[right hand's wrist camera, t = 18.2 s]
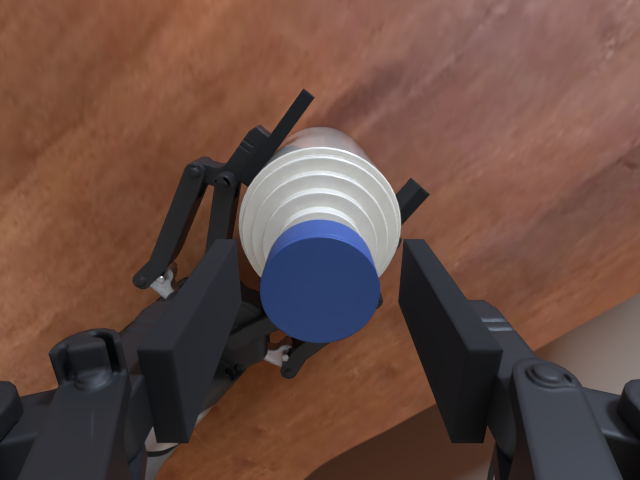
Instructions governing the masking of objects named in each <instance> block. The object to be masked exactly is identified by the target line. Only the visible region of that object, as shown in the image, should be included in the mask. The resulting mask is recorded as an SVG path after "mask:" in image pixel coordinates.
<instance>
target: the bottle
mask: <svg viewBox="0 0 640 480" xmlns="http://www.w3.org/2000/svg"><path fill="white" fill-rule="evenodd" d="M317 219H320V220H331V221H335V222H339V223H341V224H344V225H346V226H348V227H349V228H351V229H352V230H354V231H355V232H356V233H358V234H359V235H360V236H361V237H362V239H363V240H364V241H365V243H366V244H367V246H368V248H369V250H370V253H371V255H372V258H373V261H374V265H375V268H376V271H377V274H378V277H380V276H381V275H382V274H383V272H384V271H385V269H386V268H387V266H388V265H389V263H390V262H391V260H392V258H393V256H394V254H395V252H396V249H397V246H398V243H399V238H400V233H401V214H400V209H399V204H398V201H397V199H396V196H395V193H394V191H393V190H392V188H391V186H390V184H389V183H388V181H387V180H386V179H385V177H384V176H383V175H382V173H381V172H380V171H379V170H378V168H377V167H376V166H375V164H374V163H373V162H372V161H371V159H370V158H369V157H368V156H367V154H366V153H365V152H364V150H363V149H362V148H361V147H360V145H359V144H358V143H357V142H356V141H355V140H354V139H352V138H351V137H350V136H348V135H347V134H345V133H343V132H341V131H339V130H336V129H332V128H327V127H313V128H307V129H304V130H301V131H299V132H297V133H295V134H293V135H292V136H290V137H289V138H287V139H286V140H285V141H284V142H283V143H282V144H281V145H280V146H279V148H278V149H277V150H276V151H275V153H274V154H273V155H272V157H271V158H270V159H269V160H268V162H267V163H266V164H265V165H264V167H263V168H262V169H261V170H260V172H259V173H258V174H257V175H256V177H255V178H254V180H253V181H252V182H251V184H250V185H249V187H248V189H247V191H246V193H245V195H244V198H243V201H242V204H241V208H240V213H239V234H240V239H241V244H242V247H243V249H244V252H245V255H246V256H247V258H248V260H249V262H250V264H251V265H252V267H253V268H254V270H255V271H256V272H257V274H258V275H259V276H260V277H261V276H262V273H263V270H264V267H265V264H266V260H267V257H268V254H269V252H270V249H271V247H272V245H273V244H274V242H275V241H276V240H277V238H278V237H279V236H280V235H281V234H282V233H283V232H284V231H286V230H287V229H289V228H290V227H292V226H294V225H296V224H299V223H301V222H305V221H309V220H317Z"/></svg>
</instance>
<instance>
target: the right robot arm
mask: <svg viewBox="0 0 640 480" xmlns="http://www.w3.org/2000/svg"><path fill="white" fill-rule="evenodd" d="M241 302H242V300H241V289H240V278H239V266H238V255H237V243H236V239H216V240H215V242H214V243H213V244H212V246H211V247H210V249H209V250H208V251H207V253H206V254H205V255H204V257H203V258H202V260H201V261H200V262H199V264H198V265H197V267H196V268H195V269H194V271H193V272H192V274H191V275H190V276H189V278H188V279H187V280H186V282H185V283H184V285H183V286H182V287H181V289H180V290H179V292H178V293H177V294H176V296H175V297H174V299H173V300H172V301H156V302H155V303H153V304H152V305H150V306H149V307H147V308H145V309H144V310H142V312H141V313H140V314H139V315H138V316H137V318H136V319H135V320H134V323H132V324H131V325H130V326H129V327H128V329H127V331H126V332H124V333H123V335H122V336H121V337H120V334H119V333H117V332H116V331H115V330H111V329H106V328H100V329H90V330H87V331H83V332H79V333H76V334H74V335H72V336H69V337H67V338H65V339H64V340H62V341H61V342H59V343H58V344H56V345H55V346H54V347H53V348H52V349H51V351H50V352H49V357H50V360H51V363H52V366H53V369H54V372H55V375H56V378H57V381H58V385H59V386H58V388H57V389H54V390H50V391H45V392H40V393H36V394H31V395H26V396H22V397H19V394H18V391H17V389H16V386H15V385H13V384H12V383H11V382H8V381H0V480H145V476H146V466H147V451H146V446H145V441H146V439H147V437H148V435H149V433H150V431H151V429H152V427H153V428H154V433H155V437H156V442H157V443H188V442H189V440H190V437H191V434H192V432H193V429H194V426H195V424H196V421H197V419H198V416H199V413H200V411H201V408H202V405H203V403H204V400H205V397H206V395H207V392H208V389H209V387H210V384H211V382H212V379H213V376H214V374H215V371H216V368H217V366H218V363H219V360H220V358H221V355H222V353H223V350H224V347H225V345H226V342H227V339H228V337H229V334H230V331H231V329H232V326H233V323H234V321H235V318H236V316H237V313H238V310H239V308H240V305H241ZM398 302H399V305H400V308H401V310H402V313H403V316H404V318H405V321H406V323H407V326H408V329H409V331H410V334H411V337H412V339H413V342H414V345H415V347H416V350H417V353H418V355H419V358H420V360H421V363H422V366H423V368H424V371H425V374H426V376H427V379H428V382H429V384H430V387H431V389H432V392H433V395H434V397H435V400H436V403H437V405H438V408H439V411H440V413H441V416H442V419H443V421H444V424H445V426H446V429H447V432H448V434H449V437H450V440H451V442H452V443H483V442H484V437H485V433H486V428H487V425H488V427H489V429H490V431H491V433H492V435H493V437H494V439H495V441H496V442H495V446H494V450H493V454H492V459H491V463H490V467H489V472H488V478H487V480H493V476H494V475H495V480H640V379H637V380H631V381H629V382H628V383H626V384H625V386H624V389H623V391H622V394H621V395H616V394H612V393H607V392H603V391H598V390H593V389H589V388H585V387H582V385H581V384H580V382H579V381H578V379H577V378H576V377H575V376H574V375H573V374H572V373H570V372H569V371H568V370H566V369H565V368H563V367H561V366H559V365H557V364H555V363H553V362H550V361H546V360H543V359H539V358H538V357H537V356H536V355H535V353H534V352H533V351H532V350H531V349H530V347H529V346H528V345H527V344H526V343H525V341H524V340H523V339H522V338H521V337H520V335H519V334H518V333H517V332H516V331H514V328H513V327H512V326H511V325H510V323H509V322H507V321H506V318H505V317H504V316H503V315H502V314H501V312H500V311H499V310H498V309H497V308H495V307H494V306H492V305H490V304H489V303H487V302H486V301H484V300H467V298H466V297H465V296H464V294H463V293H462V292H461V290H460V289H459V287H458V286H457V285H456V283H455V282H454V280H453V279H452V278H451V276H450V275H449V274H448V272H447V271H446V269H445V268H444V267H443V265H442V264H441V262H440V261H439V260H438V258H437V257H436V255H435V254H434V253H433V251H432V250H431V249H430V247H429V246H428V244H427V243H426V242H425V240H424V239H404V243H403V255H402V266H401V278H400V289H399V300H398Z"/></svg>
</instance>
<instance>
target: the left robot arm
mask: <svg viewBox="0 0 640 480" xmlns="http://www.w3.org/2000/svg"><path fill="white" fill-rule="evenodd" d="M314 98H315V97H314V96H312V95H311V94H310V93H309V92H308V91H306V90H305V89H303V90H302V91H301V93H300V94H299V96H298V97H297V98H296V100H295V101H294V103H293V104H292V105H291V107H290V108H289V110H288V111H287V112H286V114H285V115H284V117H283V118H282V119H281V121H280V122H279V124H278V125H277V127H276V128H275V129H274V131H273V132H272V134H271V133H270V132H269V131H267V130H266V129H265V128H264V127H262V126H261V125H259V126H257V127H255V128H253V129H252V130H250V131H249V132H248V133H247V135H246V136H245V138H244V139H243V141H242V142H241V144H240V145H239V147H238V148H237V149H236V151H235V152H234V154H233V155H232V157H231V158H230V160H229V161H228V162H227V163H219V162H216V161H213V160H212V159H210V158H209V157H201V158H199V159H197V160H195V161H193V162H191V163H190V164H188V165H187V166H186V168H185V170H184V172H183V175H182V178H181V180H180V183H179V185H178V188H177V191H176V193H175V196H174V198H173V201H172V204H171V206H170V209H169V211H168V214H167V217H166V219H165V222H164V224H163V227H162V230H161V232H160V235H159V237H158V240H157V243H156V245H155V248H154V250H153V253H152V256H151V258H150V260H149V261H148V262H147V263H146V264H145V265H144V266H143V267H142V268H141V269H140V270H139V271H138V272H137V273H136V274H135V275H134V277H133V283H134V285H135V286H136V287H138V288H139V289H146V288H148V287H149V286H150V287H151V288H152V289H154V290H155V291H156V292H157V293H159V294H160V295H161V296H162V297H164V298H165V299H166V300H165V301H172V300H173V299H174V297H175V296H176V294H177V293H178V292H179V290H180V289H181V287H182V286H183V285H184V284H180V285H178V284H177V282H176V280H175V276H176V274H177V272H178V269H177V264H176V263H175V262H173V261H174V260H175V259H176V257H177V256H178V254H179V253H180V251H181V249H182V247H183V244H184V242H185V239H186V237H187V235H188V232H189V230H190V227H191V225H192V223H193V220H194V218H195V215H196V213H197V210H198V208H199V206H200V203H201V201H202V198H203V196H204V194H205V191H206V189H207V186H208V184H209V185H212V186H215V187H214V194H213V201H212V208H211V216H210V223H209V230H208V237H207V244H206V251H205V254H206V253H207V251H208V250H209V249H210V247H211V246H212V244H213V243H214V242H215V240H216V239H232V237H233V231H234V225H235V219H236V213H237V207H238V201H239V195H240V189H241V183H243V184H245V185H246V186H247V187H249V185H250V184H251V182H252V181H253V180H254V178H255V177H256V175H257V174H258V173H259V172H260V170H261V169H262V168H263V167H264V165H265V164H266V163H267V162H268V160H269V159H270V158H271V157H272V155H273V154H274V153H275V151H276V150H277V148H278V147H279V146H280V144H281V143H282V142H283V140H284V139H285V137H286V136H287V135H288V133H289V132H290V131H291V129H292V128H293V127H294V125H295V124H296V122H297V121H298V120H299V118H300V117H301V116H302V114H303V113H304V111H305V110H306V109H307V107H308V106H309V105H310V103H311V102H312V100H313V99H314ZM429 195H430V194H429V193H427V192H426V191H425V190H424V189H423V188H422V187H421V186H420V185H419V184H417V183H416V182H415V181H414V180H413V179H411V178H410V179H409V181H408V182H407V183H406V184H405V185H404V186H403V187H402V188H401V190H400V191H399V192H398V193H397V194H396V195H395V196H396V199H397V201H398V204H399V209H400V214H401V225H402V224H403V223H404V222H405V221H406V220H407V219H408V218H409V217H410V216H411V214H412V213H413V212H414V211H415V210H416V209H417V208H418V207H419V206H420V205H421V203H422V202H423V201H424V200H425V199H426V198H427V197H428V196H429ZM401 241H402V240H401V238H399V243H398V246H397V249H398V248H399V246H400V243H401ZM397 249H396V250H397ZM240 289H241V300H242V302H241V305H240V308H239V310H238V313H237V316H236V318H235V321H234V323H233V326H232V329H231V331H230V334H229V337H228V339H227V342H226V345H225V347H224V350H223V353H222V355H221V358H220V360H219V363H218V366H217V368H216V371H215V374H214V376H213V379H212V382H211V384H210V387H209V389H208V392H207V395H206V397H205V400H204V403H203V405H202V408H201V411H200V413H199V416H198V419H197V421H196V424H195V426H194V428H195V427H196V426H197V424H198V423H199V422H200V421H201V420H202V419H203V418H204V417H205V416H206V415H207V413H208V412H209V411H210V410H211V409H212V408H213V406H214V405H215V404H216V403H217V402H218V401H219V400H220V399H221V398H222V396H223V395H224V394H225V393H226V392H227V391H228V390H229V389H230V387H231V386H232V385H233V384H234V383H235V382H236V381H237V379H238V378H239V377H240V376H241V375H242V374H243V372H244V371H245V370H246V369H247V368H248V367H249V366H251V365H253V364H255V363H258V362H260V361H262V360H266V361H268V362H270V363H273V364H275V365H277V366H279V367H281V375H282V376H283V377H284V378H287V379H290V378H293V377H295V376H296V374H297V373H298V371H299V370H300V368H301V367H302V365H303V364H304V362H305V361H306V359H308V358H309V357H311V356H312V355H313V354H315V353H316V352H318V351H319V350H320V349H322V348H323V347H324V346H326V345H327V344H329V343H330V342H328V343H312V342H306V341H302V340H299V339H296V338H293V337H292V338H291V337H290V336H286V337H285V338H284V339H282V340H281V341H280V342H279V343H275V344H273V343H270V337H269V333H272V332H274V331H276V330H278V329H279V328H277V327H276V326H275V325H274V324H273V323H272V321H271V320H270V319H269V317H268V316H267V314H266V313H265V311H264V309H263V306H262V303H261V299H260V293H259V292H258V291H256V290H253V289H250V288H247V287H246V286H245V285H244V284H243V283H242V282H241V281H240ZM382 303H383V299H382V295H381V292H380V297H379V302H378V305H377V308H379V307H380V306H381V305H382ZM377 308H376V309H377ZM179 445H180V443H157V442H156V437H155V433H154V428H153V427H152V429H151V431H150V433H149V435H148V437H147V439H146V441H145V446H146V451H147V466H146V476H145V480H155V478H156V476H157V474H158V472H159V470H160V468H161V467H162V465H163V464H164V462H165V461H166V460H167V458H168V457H169V456H170V455H171V454H172V453H173V452H174V450H175V449H176V448H177V447H178V446H179Z"/></svg>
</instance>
